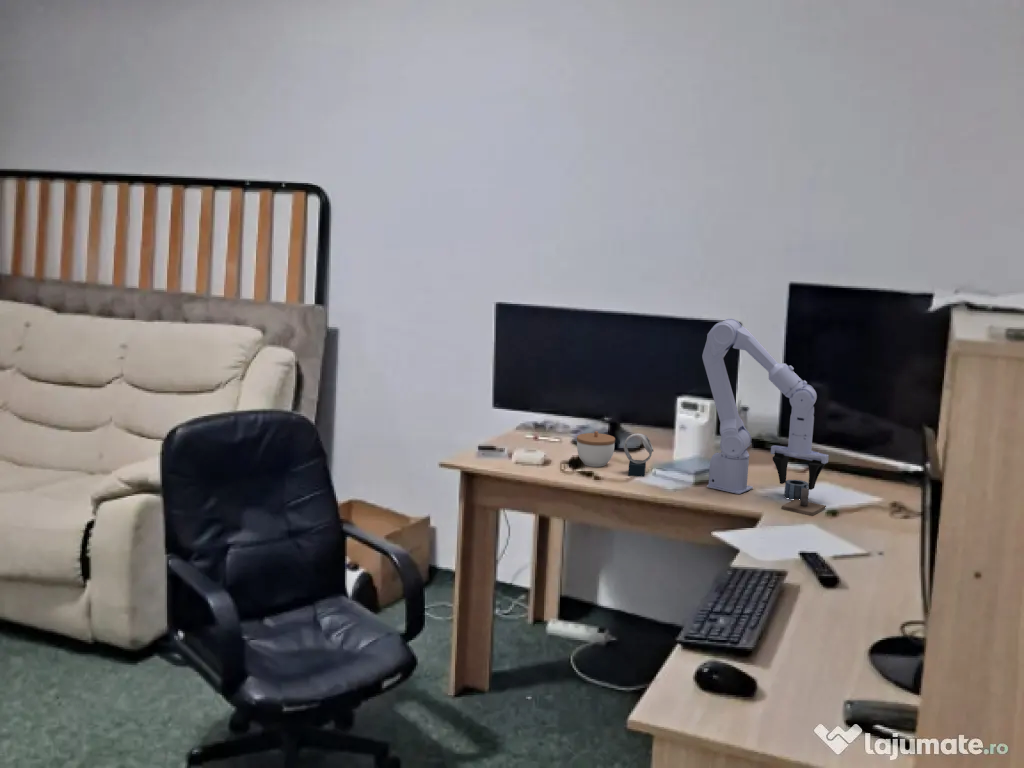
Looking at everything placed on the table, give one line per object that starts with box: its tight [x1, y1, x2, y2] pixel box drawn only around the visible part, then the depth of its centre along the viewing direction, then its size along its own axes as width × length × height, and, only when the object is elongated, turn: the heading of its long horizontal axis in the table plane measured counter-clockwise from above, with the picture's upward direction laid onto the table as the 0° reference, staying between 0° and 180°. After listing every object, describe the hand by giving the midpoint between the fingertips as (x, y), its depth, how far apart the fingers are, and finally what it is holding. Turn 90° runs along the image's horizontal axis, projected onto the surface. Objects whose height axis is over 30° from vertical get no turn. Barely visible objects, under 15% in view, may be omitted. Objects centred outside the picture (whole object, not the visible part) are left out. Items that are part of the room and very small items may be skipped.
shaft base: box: [780, 488, 827, 517], centre depth 251 cm, size 8×8×5 cm
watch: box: [623, 432, 654, 478], centre depth 278 cm, size 6×8×11 cm
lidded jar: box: [576, 430, 616, 468], centre depth 287 cm, size 11×11×9 cm
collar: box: [783, 479, 809, 500], centre depth 261 cm, size 6×6×4 cm
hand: (796, 485), depth 260 cm, fingers open, 7 cm apart
